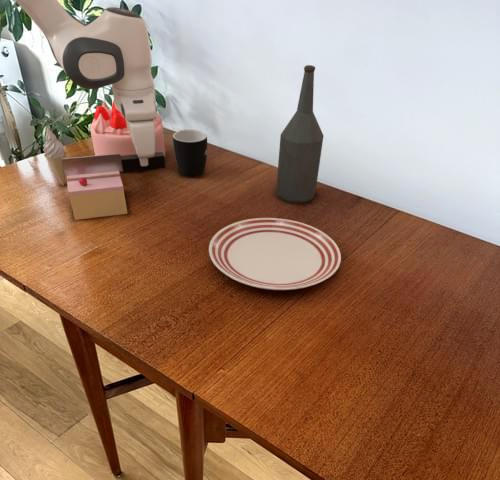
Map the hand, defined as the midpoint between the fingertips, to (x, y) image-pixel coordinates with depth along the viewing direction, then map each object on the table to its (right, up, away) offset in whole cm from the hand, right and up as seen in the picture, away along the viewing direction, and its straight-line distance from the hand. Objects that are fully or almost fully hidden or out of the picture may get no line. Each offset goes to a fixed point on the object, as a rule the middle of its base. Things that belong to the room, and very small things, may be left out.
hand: (142, 161), depth 110 cm
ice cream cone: (-23, -2, +11) cm, 26 cm away
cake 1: (-11, -9, +4) cm, 15 cm away
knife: (-6, -2, 0) cm, 7 cm away
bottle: (+37, -5, +11) cm, 39 cm away
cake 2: (-9, +10, +24) cm, 28 cm away
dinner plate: (+30, -26, -11) cm, 41 cm away
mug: (+9, +5, +20) cm, 22 cm away
